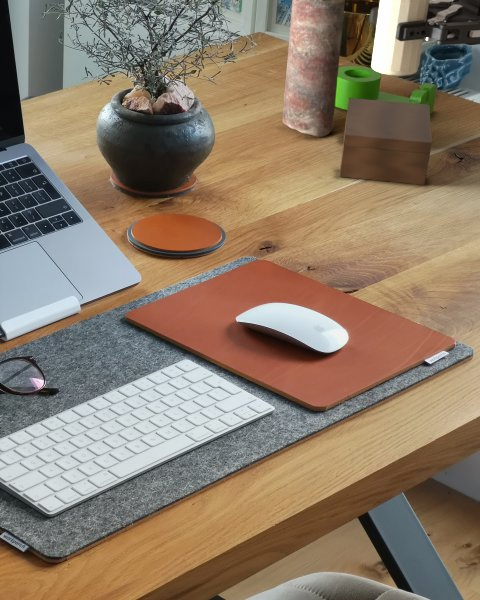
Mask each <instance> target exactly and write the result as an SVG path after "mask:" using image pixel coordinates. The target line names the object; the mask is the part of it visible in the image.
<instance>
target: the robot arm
mask: <svg viewBox="0 0 480 600" xmlns="http://www.w3.org/2000/svg"><path fill="white" fill-rule="evenodd" d="M378 10H379V6H375V7H372V8H371V9H370V13H369V19H368V20H369V24H370V25H371V26H375V27H376V25H377V17H378ZM396 39H397V40H399V41H409V40H418V39H423V40H424V41H427V42H434V41H436V44H437V45H439V46H447V45H467V46H477V45H480V0H429V5H428V12H427V18H426V21H424V20H421V21H411V22H401V23H399V24H398V25H397V30H396Z"/></svg>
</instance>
